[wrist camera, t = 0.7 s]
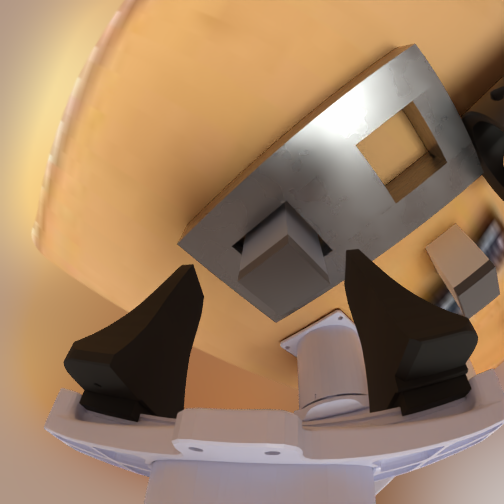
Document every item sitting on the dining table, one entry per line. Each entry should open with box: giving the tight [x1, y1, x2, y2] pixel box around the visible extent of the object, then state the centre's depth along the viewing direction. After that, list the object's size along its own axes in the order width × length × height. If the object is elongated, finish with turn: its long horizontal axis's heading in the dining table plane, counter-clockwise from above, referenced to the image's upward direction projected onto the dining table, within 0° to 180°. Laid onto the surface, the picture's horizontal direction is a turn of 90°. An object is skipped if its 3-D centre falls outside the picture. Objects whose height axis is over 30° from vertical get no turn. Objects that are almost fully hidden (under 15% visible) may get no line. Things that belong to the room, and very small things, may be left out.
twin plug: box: [238, 201, 330, 316], centre depth 20 cm, size 4×4×7 cm
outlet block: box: [177, 44, 484, 323], centre depth 19 cm, size 11×22×3 cm, turn 135°
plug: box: [425, 223, 500, 319], centre depth 20 cm, size 4×4×7 cm
